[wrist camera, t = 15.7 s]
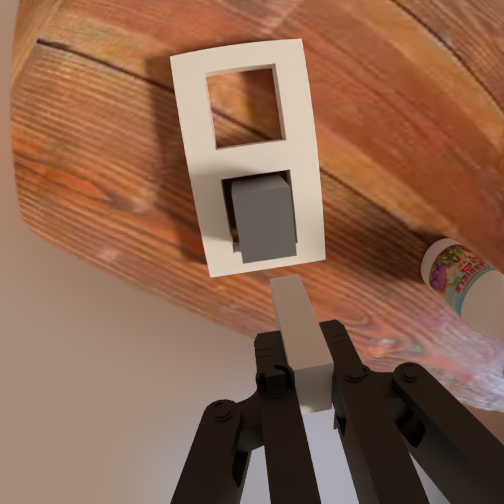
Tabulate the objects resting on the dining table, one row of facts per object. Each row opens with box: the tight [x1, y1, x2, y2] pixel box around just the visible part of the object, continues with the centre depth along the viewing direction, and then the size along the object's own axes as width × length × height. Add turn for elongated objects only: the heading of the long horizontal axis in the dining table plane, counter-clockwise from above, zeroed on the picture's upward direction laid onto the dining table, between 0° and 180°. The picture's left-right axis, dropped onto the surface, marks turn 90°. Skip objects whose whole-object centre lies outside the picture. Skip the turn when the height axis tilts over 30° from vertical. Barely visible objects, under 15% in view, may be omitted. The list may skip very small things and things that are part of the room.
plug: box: [232, 175, 297, 264], centre depth 32 cm, size 5×6×8 cm
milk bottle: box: [421, 238, 504, 343], centre depth 31 cm, size 8×8×20 cm
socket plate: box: [170, 39, 326, 277], centre depth 32 cm, size 13×24×3 cm, turn 8°
